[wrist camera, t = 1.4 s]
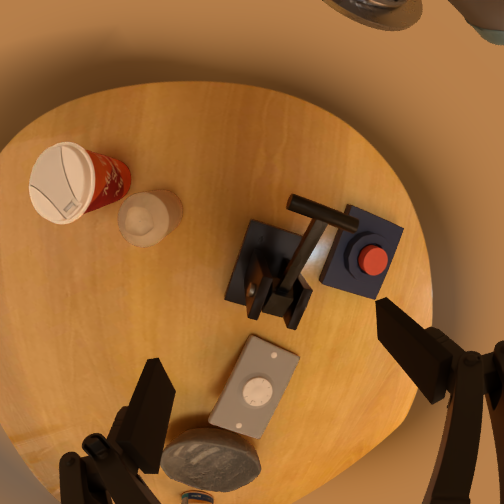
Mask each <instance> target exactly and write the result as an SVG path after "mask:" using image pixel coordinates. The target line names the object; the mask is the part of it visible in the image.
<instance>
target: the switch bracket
mask: <svg viewBox="0 0 504 504" xmlns="http://www.w3.org/2000/svg"><path fill="white" fill-rule="evenodd" d="M302 237H303V236H302V235H299V234H296V233H293V232H290V231H287V230H284V229H281V228H278V227H275V226H272V225H269V224H266V223H263V222H260V221H257V220H254V219H250V222H249V225H248V228H247V231H246V234H245V237H244V240H243V243H242V246H241V249H240V252H239V255H238V258H237V260H236V263H235V266H234V269H233V272H232V275H231V278H230V281H229V284H228V287H227V290H226V294H225V298H224V300H227V301H230V302H234V303H237V304H241V305H245V306H246V308H247V316H248V318H250V319H254V320H258V317H259V315H260V312H261V310H262V307H263V304H264V302H265V299H266V297H267V294H268V291H269V289H270V286H271V283H272V281H273V278H272V277H276V278H279V279H280V278H281V276H282V274H283V273H284V271H285V269H286V267H287V265H288V263H289V262H290V260H291V258H292V256H293V254H294V252H295V250H296V249H297V247H298V245H299V243H300V241H301V239H302ZM312 292H313V290H312V289H311V287H310V286H309V285H308V283H307V282H306V280H305V279H304V278H303V276H302V275H301V273H300V274H299V276H298V277H297V279H296V281H295V282H294V284H293V294H294V300H293V302H292V303H291V305H290V306H289V308H288V309H287V311H286V313H285V314H284V316H283V319H284V321H285V324H286V327H287V328H289V329H293V330H296V329H297V326H298V324H299V322H300V320H301V317H302V315H303V313H304V311H305V309H306V307H307V304H308V301H309V299H310V296H311V294H312Z"/></svg>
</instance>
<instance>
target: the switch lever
mask: <svg viewBox="0 0 504 504" xmlns="http://www.w3.org/2000/svg"><path fill="white" fill-rule="evenodd" d="M286 209H287V210H290V211H293V212H296V213H299V214H301V215H304V216H307V217H310V218H312V220H311V222H310V224H309V226H308V228H307V230H306V231H305V233H304V235H303V237H302V239H301V241H300V243H299V245H298V247H297V249H296V250H295V252H294V254H293V256H292V258H291V260H290V262H289V263H288V265H287V267H286V269H285V271H284V273H283V274H282V276H281V278H280V279H279V278H276V277H272V278H273V281H272V283H271V286H270V289H269V291H268V294H267V297H266V299H265V302H264V304H263V307H262V312H263V313H267V314H271V315H275V316H278V317H283V316H284V314H285V313H286V311H287V309H288V308H289V306H290V305H291V303H292V302H293V300H294V294H293V284H294V282H295V281H296V279H297V277H298V276H299V274H300V272H301V270H302V269H303V267H304V265H305V264H306V262H307V260H308V258H309V257H310V255H311V253H312V251H313V250H314V248H315V246H316V244H317V243H318V241H319V239H320V237H321V236H322V234H323V232H324V230H325V228H326V227H327V225H328V224H329V225H331V226H334V227H337V228H339V229H342V230H344V231H347V232H350V233H352V234H354V233H355V232H356V231H357V229H358V227H359V219H357V218H355V217H352V216H350V215H347V214H345V213H343V212H340V211H338V210H335V209H332V208H330V207H327V206H325V205H322V204H320V203H317V202H314V201H312V200H309V199H306V198H304V197H301V196H298V195H296V194H293V193H292V194H291V195H290V197H289V199H288V202H287V206H286Z"/></svg>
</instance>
